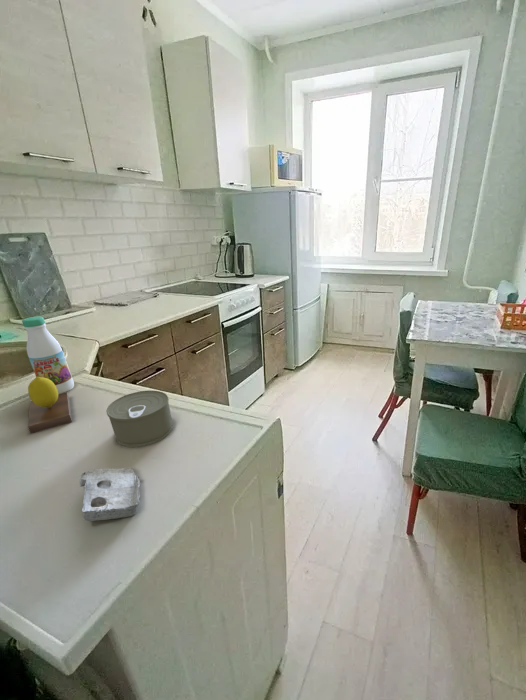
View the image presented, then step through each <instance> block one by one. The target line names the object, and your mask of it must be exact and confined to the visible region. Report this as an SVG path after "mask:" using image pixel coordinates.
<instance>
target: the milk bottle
mask: <svg viewBox="0 0 526 700" xmlns="http://www.w3.org/2000/svg"><path fill="white" fill-rule="evenodd" d="M21 323H22V326H23V327H24V330H25V331H26V333H27V334H26V335H27V340H26V354H27V357H28V360H29V362H30V363H29V364H30V366H31V368H32V370H33V373H34V375H35V378H36V377H43V378H47V379H49V380H51V381H52V382H53V383H54V384H55V386H56V388H57V390H58V394H62V393H66V392H67V393H68V391H69V392H70V390H72V389H73V388H75V382H74V379H73V376H72V374H71V373H72V372H71V370H70V367H69V365H68V362H67V360H66V356H65V354H64V351H63V349H62V346H61V345H60V343H59V341H58V340H57V339H56V338H55V337H54V336H53V335H52V334H51V333H50V331H49V330H48V329H47V323H46V321H45V317H43V316H37V315H36V316H31V317H27V318H24V319H22V320H21Z"/></svg>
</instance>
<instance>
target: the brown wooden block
mask: <svg viewBox="0 0 526 700" xmlns="http://www.w3.org/2000/svg"><path fill="white" fill-rule="evenodd" d="M70 423H73V418H72V408H71V400H70V396H69V393H68V391H67V392H64V393H61V394H58V399H57V401H56V402H55V403H54V404H53V405H52V406H51V407H50V408H47V407H40V406H38V405H36V404H34V403H33V402H32V400H30V402H29V412H28V422H27V429H28V430H29V432H30V433H29V434H34V433H38V432H42V431H45V430H49V429H52V428H56V427H59V426H63V425H66V424H70Z"/></svg>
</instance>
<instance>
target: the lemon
mask: <svg viewBox="0 0 526 700" xmlns="http://www.w3.org/2000/svg"><path fill="white" fill-rule="evenodd" d="M27 393H28V395H29V396H28V397H29V399H30V401H32V402H33V403H34V404H36V405H38V406H40V407H47V408H50V407H51V406H52V405H53V404H54V403H55V402H56V401H57V399H58V390H57V388H56V386H55V384H54V383H53V382H52V381H51V380H49V379H47V378H43V377H36V376H35V378H34V379H33V380H31V381H30V382H29V384H28V387H27Z"/></svg>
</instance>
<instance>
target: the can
mask: <svg viewBox="0 0 526 700" xmlns="http://www.w3.org/2000/svg"><path fill="white" fill-rule="evenodd" d="M169 399H170V398H169V396H168V394H166V393H165V392H163V391H160V390H140V391H136V392H131V393H128V394H125V395H123V396H121V397H119V398H117V399H115V400H113V401H112V402H111V403H110V404H109V405H108V406H107V408H106V415H107V417H108V418H109V422H110V425H111V428H112V430H113V433H114V436H115V440H116V442H117V443H118V444H119V446H122V447H126V448H142V447H147V446H150V445H153V444H156V443H159V442H160V441H162V440H164V439H166V438H167V437H168V436H169V435H170V434H171V433H172V431H173V430H174V422H173V417H172V413H171V408H170V404H169Z"/></svg>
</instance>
